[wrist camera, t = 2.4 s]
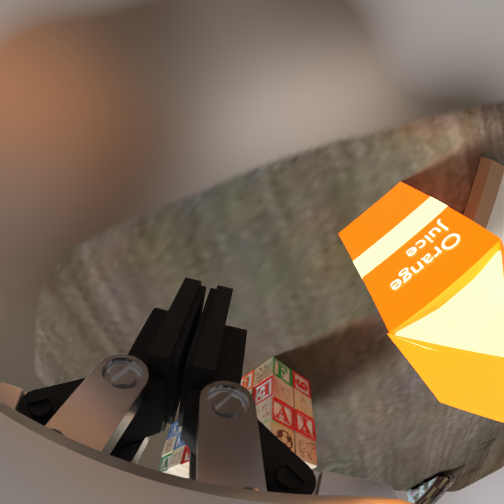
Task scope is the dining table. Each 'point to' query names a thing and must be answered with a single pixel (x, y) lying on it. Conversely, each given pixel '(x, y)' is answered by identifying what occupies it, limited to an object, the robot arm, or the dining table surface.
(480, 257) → the orange juice
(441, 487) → the chocolate cake
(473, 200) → the mat
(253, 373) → the stack of blocks
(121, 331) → the dining table surface
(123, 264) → the dining table surface
